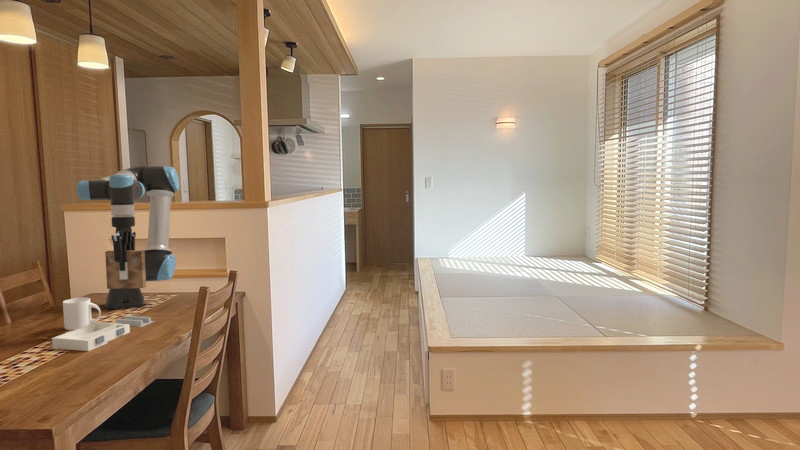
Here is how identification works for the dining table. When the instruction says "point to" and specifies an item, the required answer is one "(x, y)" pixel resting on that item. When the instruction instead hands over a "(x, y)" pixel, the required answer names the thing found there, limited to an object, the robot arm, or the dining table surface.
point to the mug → (78, 313)
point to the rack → (135, 321)
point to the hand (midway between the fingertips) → (126, 278)
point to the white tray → (90, 336)
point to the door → (134, 270)
